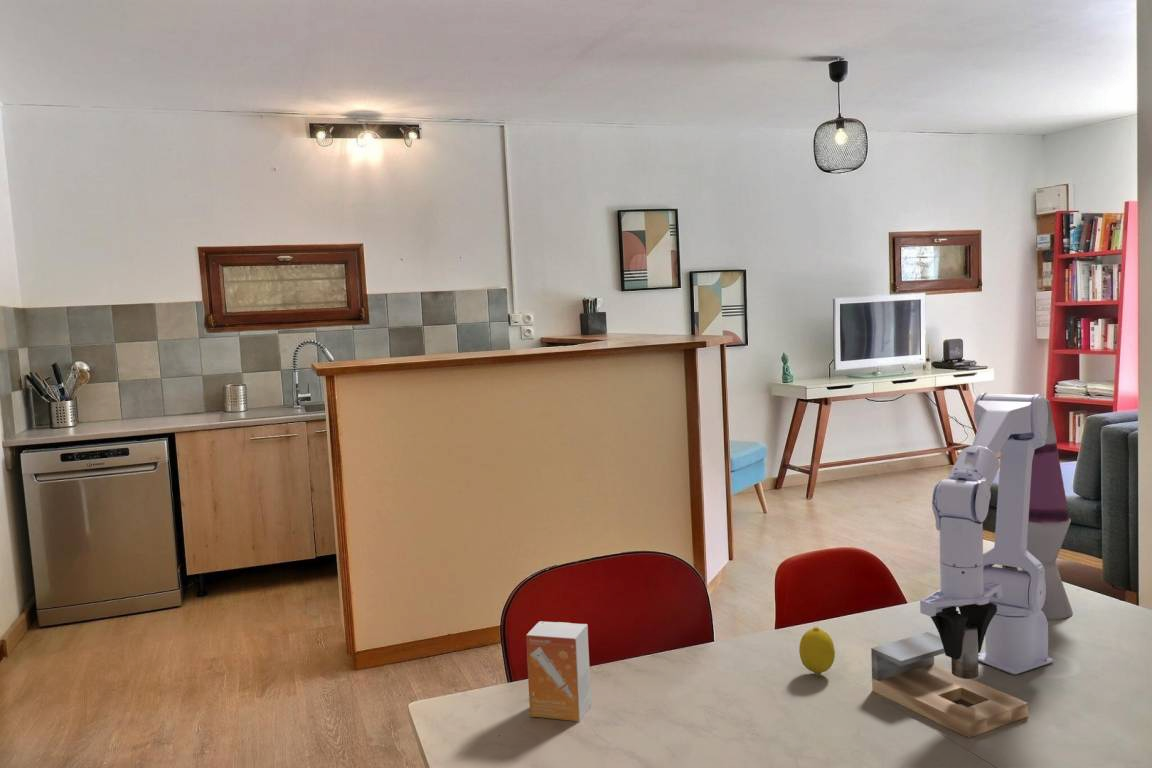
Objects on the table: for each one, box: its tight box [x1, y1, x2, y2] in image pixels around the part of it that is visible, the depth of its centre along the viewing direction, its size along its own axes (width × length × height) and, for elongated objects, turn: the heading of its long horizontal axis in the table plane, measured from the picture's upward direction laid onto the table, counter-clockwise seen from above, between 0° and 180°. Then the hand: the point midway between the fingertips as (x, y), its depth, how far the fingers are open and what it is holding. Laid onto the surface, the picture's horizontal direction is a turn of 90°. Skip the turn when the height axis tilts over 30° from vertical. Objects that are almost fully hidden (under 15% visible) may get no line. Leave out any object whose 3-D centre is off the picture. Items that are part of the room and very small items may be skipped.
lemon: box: [798, 626, 836, 676], centre depth 146 cm, size 6×6×8 cm
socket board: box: [870, 631, 1029, 739], centre depth 134 cm, size 12×18×7 cm, turn 26°
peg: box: [950, 623, 980, 680], centre depth 130 cm, size 4×4×7 cm
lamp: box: [1020, 398, 1073, 621], centre depth 168 cm, size 11×11×40 cm
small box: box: [525, 620, 592, 723], centre depth 137 cm, size 8×6×13 cm
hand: (962, 653), depth 130 cm, fingers closed on peg, 4 cm apart
